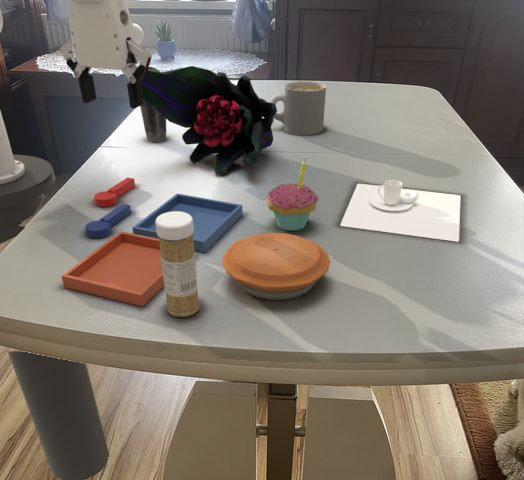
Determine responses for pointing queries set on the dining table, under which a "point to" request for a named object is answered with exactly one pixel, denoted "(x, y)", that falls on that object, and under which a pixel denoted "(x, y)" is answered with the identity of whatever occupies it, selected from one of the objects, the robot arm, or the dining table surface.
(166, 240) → the sprinkles bottle
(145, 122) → the beverage cup
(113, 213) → the blue spoon
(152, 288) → the terracotta tray
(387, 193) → the teacup and saucer
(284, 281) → the pie
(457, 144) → the dining table surface
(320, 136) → the dining table surface
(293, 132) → the coffee mug
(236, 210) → the blue tray
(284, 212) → the cupcake
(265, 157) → the dining table surface
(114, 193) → the red spoon
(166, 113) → the decorative plant
